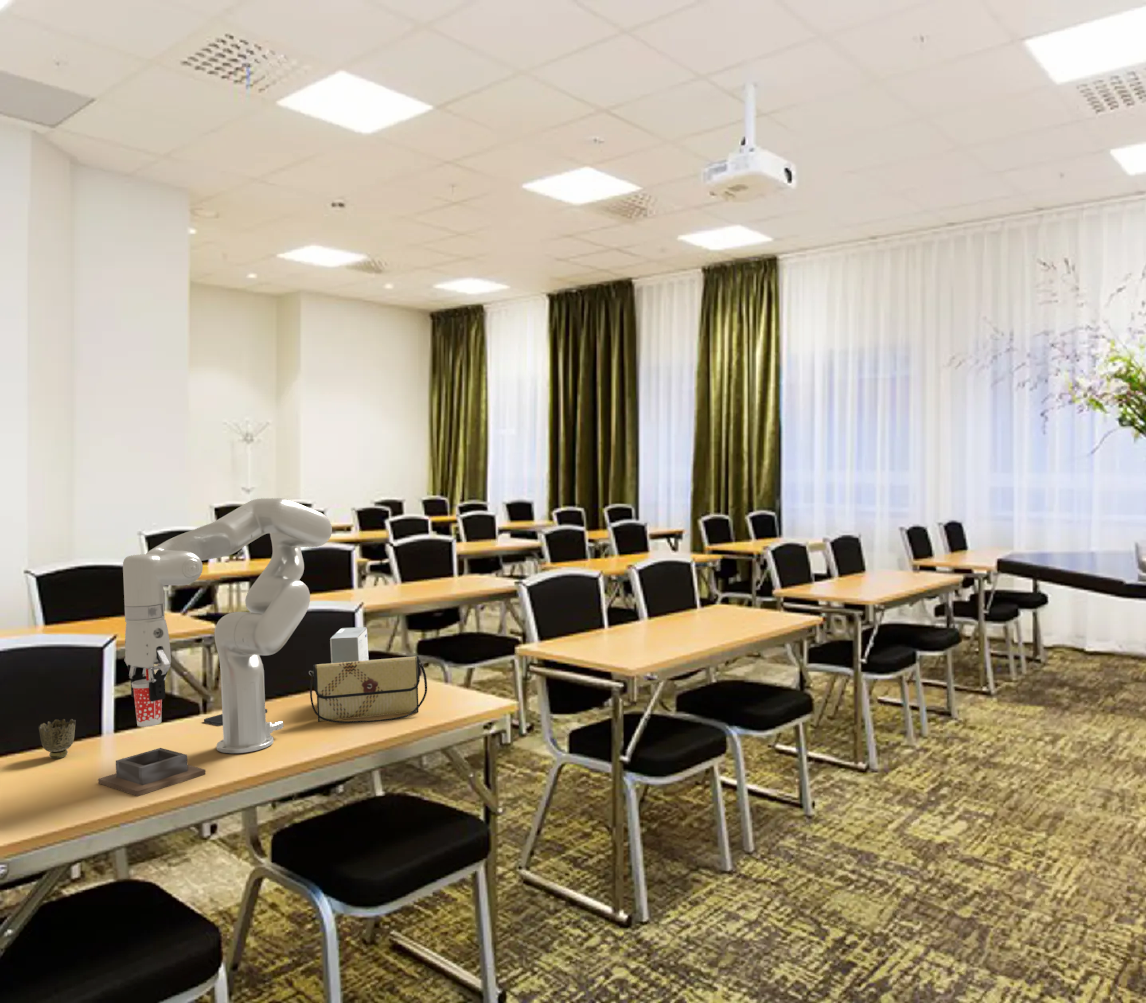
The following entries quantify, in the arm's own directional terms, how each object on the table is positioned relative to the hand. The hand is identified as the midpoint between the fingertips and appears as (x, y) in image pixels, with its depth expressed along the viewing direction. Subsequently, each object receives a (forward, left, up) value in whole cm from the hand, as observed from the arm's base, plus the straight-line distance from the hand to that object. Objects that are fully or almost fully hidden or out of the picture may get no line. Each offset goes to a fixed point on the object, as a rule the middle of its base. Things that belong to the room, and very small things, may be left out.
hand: (148, 697), depth 189 cm
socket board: (0, 0, -17) cm, 17 cm away
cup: (+2, -35, -18) cm, 39 cm away
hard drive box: (-65, -11, -18) cm, 68 cm away
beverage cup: (0, 0, -6) cm, 6 cm away
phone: (-40, -28, -18) cm, 51 cm away
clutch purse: (-56, +6, -18) cm, 59 cm away
